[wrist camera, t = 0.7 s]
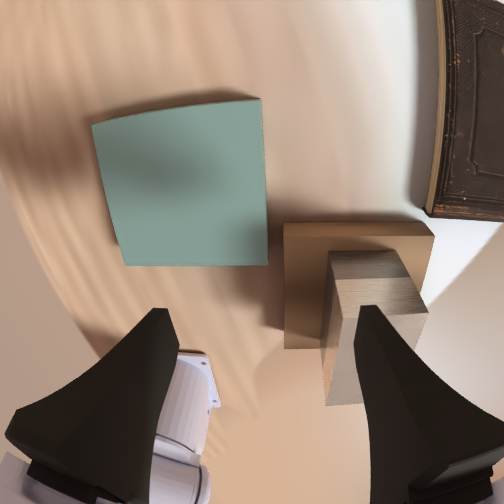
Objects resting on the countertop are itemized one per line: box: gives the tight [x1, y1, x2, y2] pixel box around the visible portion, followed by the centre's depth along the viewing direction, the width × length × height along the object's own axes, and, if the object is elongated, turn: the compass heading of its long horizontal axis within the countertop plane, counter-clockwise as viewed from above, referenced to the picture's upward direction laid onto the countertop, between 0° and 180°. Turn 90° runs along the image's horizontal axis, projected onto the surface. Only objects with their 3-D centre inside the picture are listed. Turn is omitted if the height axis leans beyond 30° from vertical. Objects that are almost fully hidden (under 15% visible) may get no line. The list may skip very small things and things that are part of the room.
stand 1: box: [91, 99, 269, 266], centre depth 19 cm, size 10×10×2 cm
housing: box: [320, 250, 429, 406], centre depth 18 cm, size 8×4×6 cm, turn 4°
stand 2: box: [283, 222, 435, 349], centre depth 22 cm, size 10×10×2 cm
